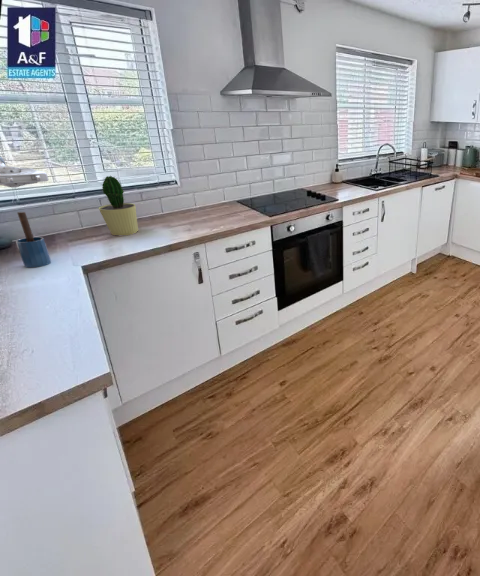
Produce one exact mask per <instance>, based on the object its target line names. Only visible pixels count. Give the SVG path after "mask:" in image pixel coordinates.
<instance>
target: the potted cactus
mask: <svg viewBox="0 0 480 576" xmlns="http://www.w3.org/2000/svg"><path fill="white" fill-rule="evenodd" d="M100 186H101V189H102V191H101V192H102V193H103V195H104V198H107V202H108V203H109V204H106V205H102V206H99V207H98V210H99V212H100V215H101V216H102V218H103V221H104V223H105V224H106V226H107V228H108V230H109V232H110V235H112V236H113V235H126V236H131V235H134V234H133V233H135V234H137V233H138V232H139V225H138V217H137V216H138V215H137V207H136V204H135V203H130V202H125V197H124V194H125V193H126V190H124V189H123V185H122V184H121V182H120V181H119V179H118V178H117V177H115V176H114V175H113V176H111V175H106V176H105V177H104V178H103V181H102V184H100ZM137 231H138V232H137ZM136 232H137V233H136ZM130 234H131V235H130Z"/></svg>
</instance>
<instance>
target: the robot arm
mask: <svg viewBox="0 0 480 576" xmlns="http://www.w3.org/2000/svg"><path fill="white" fill-rule="evenodd" d="M41 182H42V183H43V182H44V183H45V182H49V176H48V174H47V172H46V171H42V170H36V169H34V168H32V167H30V168H29V167H17V166H10V165H6V161H5V160H4V158H3V157H2V156H1V155H0V186H1V187H2V186H3V187H7V188H14V189H15V188H19V187H22V186H25V185H26V186H27V185H32V184H34V185H35V184H38V183H41Z"/></svg>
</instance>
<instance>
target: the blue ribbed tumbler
mask: <svg viewBox="0 0 480 576" xmlns="http://www.w3.org/2000/svg"><path fill="white" fill-rule="evenodd" d="M33 238H34V241H32V242H27V240H26V237H24V238H19V239H16V240H15V244H16V247H17V249H18V252H19V255H20V258H21V262H22V264H23V266H24V268H39V267H45V266H48V265H50V264H51V263H52V260H51V256H50V254H49V253H50V252H49V250H48V247H47V243H46V241H45V238H44V237H41V236H33Z"/></svg>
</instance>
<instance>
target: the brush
mask: <svg viewBox="0 0 480 576" xmlns="http://www.w3.org/2000/svg"><path fill="white" fill-rule="evenodd" d="M17 217H18V219H19V223H20V226H21V229H22V232H23V234H24V238H26V240H27V242H32V241H34V238H33V237H34V235H33V232H32V229H31V225H30V222H29V220H28V217H27V213H26V211H17Z"/></svg>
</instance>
